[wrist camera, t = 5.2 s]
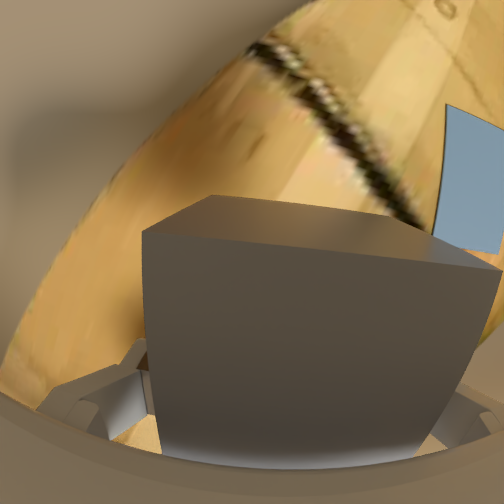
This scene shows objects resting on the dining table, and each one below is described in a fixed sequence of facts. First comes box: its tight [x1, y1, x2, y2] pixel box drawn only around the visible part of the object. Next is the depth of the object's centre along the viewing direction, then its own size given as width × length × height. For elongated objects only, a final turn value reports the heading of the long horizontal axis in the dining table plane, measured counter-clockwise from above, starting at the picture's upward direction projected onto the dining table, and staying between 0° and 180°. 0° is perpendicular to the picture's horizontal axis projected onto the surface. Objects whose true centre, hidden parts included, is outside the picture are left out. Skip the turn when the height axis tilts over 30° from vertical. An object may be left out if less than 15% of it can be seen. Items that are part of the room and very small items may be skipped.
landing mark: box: [432, 105, 504, 255], centre depth 22 cm, size 13×10×1 cm
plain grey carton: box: [142, 195, 503, 469], centre depth 9 cm, size 10×7×7 cm
